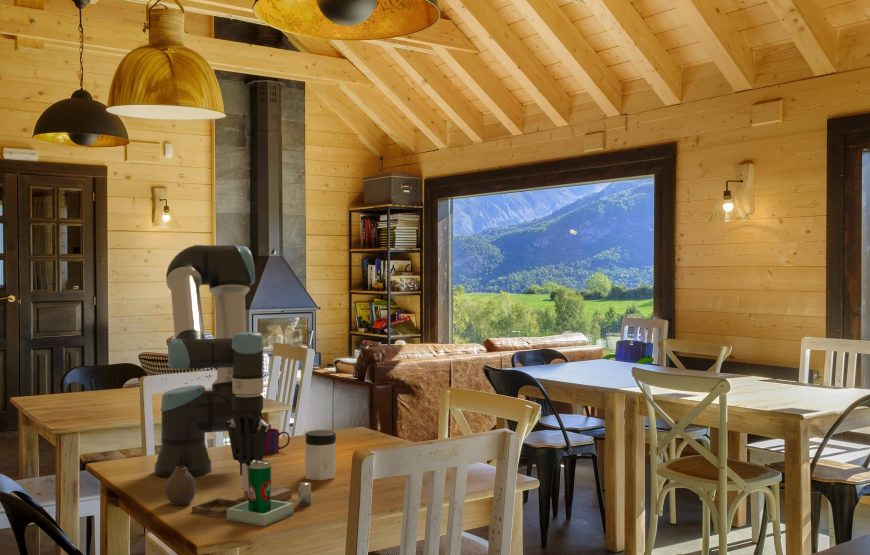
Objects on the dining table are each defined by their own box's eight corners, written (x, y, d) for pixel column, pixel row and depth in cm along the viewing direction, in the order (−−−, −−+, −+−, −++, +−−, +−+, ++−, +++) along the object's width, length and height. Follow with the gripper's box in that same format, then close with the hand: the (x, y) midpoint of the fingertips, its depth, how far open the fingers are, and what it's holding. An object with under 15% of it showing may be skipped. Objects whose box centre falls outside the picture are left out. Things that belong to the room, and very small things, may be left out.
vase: (167, 508, 200) (167, 471, 200) (164, 501, 207) (164, 465, 206) (197, 505, 203) (197, 469, 203) (193, 498, 209) (193, 462, 209)
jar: (312, 482, 225) (312, 437, 225) (299, 475, 232) (299, 432, 232) (342, 477, 230) (342, 433, 230) (328, 471, 237) (328, 428, 237)
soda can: (246, 512, 195) (246, 460, 195) (268, 510, 197) (268, 458, 197) (250, 518, 190) (250, 465, 190) (273, 516, 192) (273, 463, 192)
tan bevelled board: (244, 501, 208) (244, 491, 208) (263, 494, 214) (263, 484, 214) (272, 506, 204) (272, 496, 204) (291, 499, 210) (291, 489, 210)
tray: (226, 519, 192) (226, 508, 192) (256, 508, 201) (256, 497, 201) (264, 526, 187) (264, 515, 187) (293, 514, 196) (293, 503, 196)
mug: (258, 450, 264) (258, 428, 264) (291, 450, 264) (291, 428, 264) (254, 455, 257) (254, 432, 257) (287, 455, 257) (287, 432, 257)
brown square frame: (192, 512, 197) (192, 507, 197) (217, 502, 205) (217, 497, 205) (221, 517, 193) (221, 512, 193) (246, 507, 201) (246, 502, 201)
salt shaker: (295, 505, 204) (295, 484, 203) (303, 502, 206) (303, 481, 206) (306, 506, 202) (306, 485, 202) (313, 503, 205) (313, 483, 205)
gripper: (217, 394, 211) (217, 489, 211) (258, 398, 205) (258, 496, 205) (237, 391, 218) (237, 483, 218) (278, 394, 212) (278, 489, 212)
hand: (247, 489), depth 212 cm, fingers closed
